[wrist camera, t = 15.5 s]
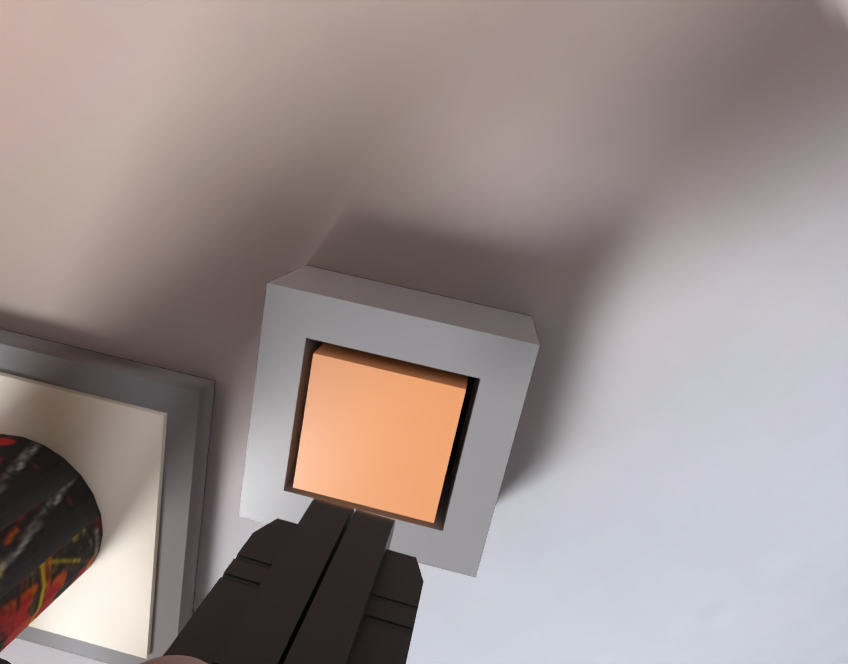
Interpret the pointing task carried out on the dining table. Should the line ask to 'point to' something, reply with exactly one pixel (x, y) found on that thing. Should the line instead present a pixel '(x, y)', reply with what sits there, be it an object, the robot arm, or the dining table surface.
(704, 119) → the dining table surface
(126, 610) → the drawing board
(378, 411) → the button
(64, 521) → the deodorant
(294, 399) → the button housing
